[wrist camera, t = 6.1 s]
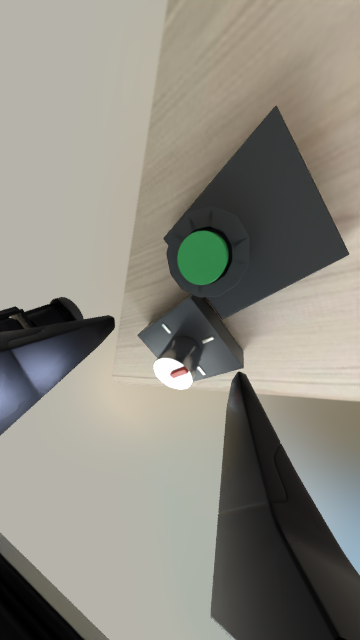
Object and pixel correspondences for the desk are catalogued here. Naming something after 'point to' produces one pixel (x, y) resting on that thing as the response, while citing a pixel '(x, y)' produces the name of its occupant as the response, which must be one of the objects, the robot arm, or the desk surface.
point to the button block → (260, 222)
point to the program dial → (178, 362)
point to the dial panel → (196, 336)
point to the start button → (202, 257)
